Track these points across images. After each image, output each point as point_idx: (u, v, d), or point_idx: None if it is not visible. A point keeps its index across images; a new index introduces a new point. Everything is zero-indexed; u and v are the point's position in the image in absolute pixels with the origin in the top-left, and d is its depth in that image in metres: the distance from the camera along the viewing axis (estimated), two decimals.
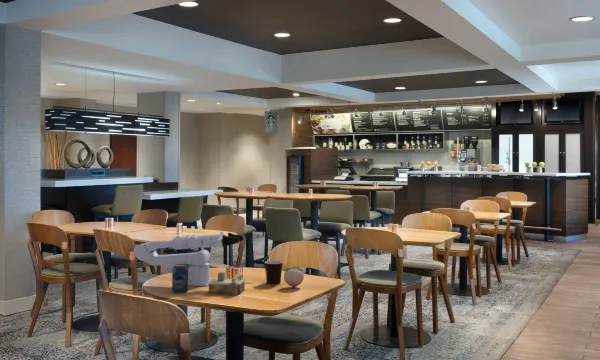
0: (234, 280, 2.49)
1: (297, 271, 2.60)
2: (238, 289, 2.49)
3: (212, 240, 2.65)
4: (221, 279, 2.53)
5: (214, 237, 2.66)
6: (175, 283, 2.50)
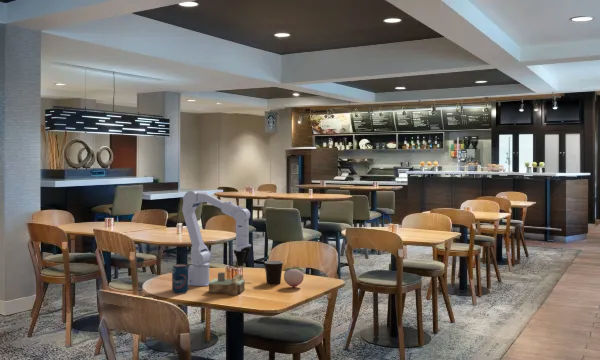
0: (234, 280, 2.49)
1: (297, 271, 2.60)
2: (238, 289, 2.49)
3: (241, 237, 2.60)
4: (221, 279, 2.53)
5: (244, 239, 2.60)
6: (175, 283, 2.50)
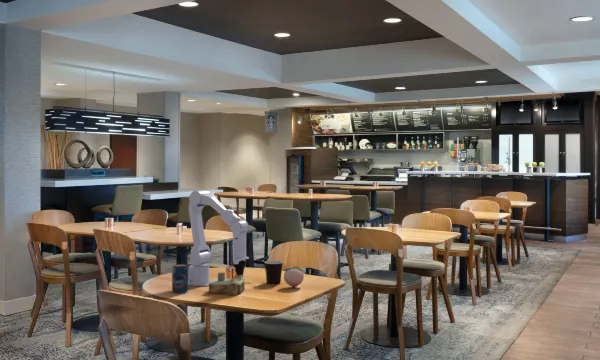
0: (233, 280, 2.48)
1: (297, 271, 2.60)
2: (238, 289, 2.49)
3: (239, 250, 2.56)
4: (221, 279, 2.53)
5: (242, 252, 2.56)
6: (175, 283, 2.50)
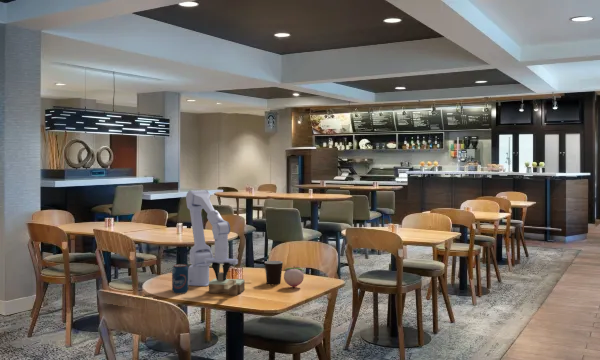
0: (226, 286, 2.37)
1: (297, 271, 2.60)
2: (238, 289, 2.49)
3: None
4: (221, 279, 2.53)
5: (215, 253, 2.53)
6: (175, 283, 2.50)
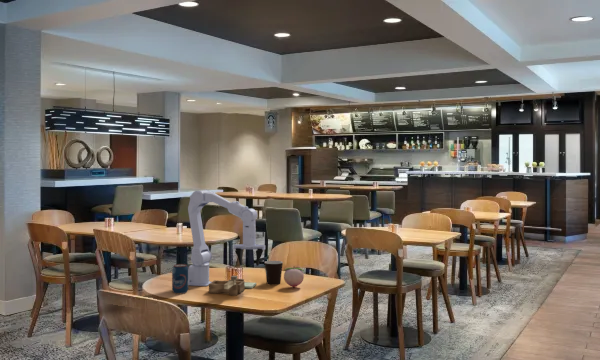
0: (226, 286, 2.37)
1: (297, 271, 2.60)
2: (238, 289, 2.49)
3: (243, 237, 2.61)
4: None
5: (243, 239, 2.60)
6: (175, 283, 2.50)
